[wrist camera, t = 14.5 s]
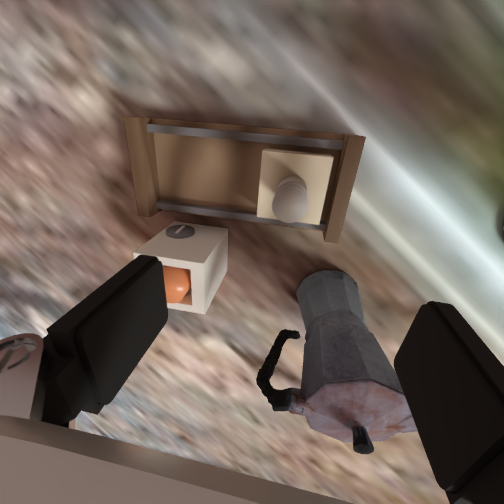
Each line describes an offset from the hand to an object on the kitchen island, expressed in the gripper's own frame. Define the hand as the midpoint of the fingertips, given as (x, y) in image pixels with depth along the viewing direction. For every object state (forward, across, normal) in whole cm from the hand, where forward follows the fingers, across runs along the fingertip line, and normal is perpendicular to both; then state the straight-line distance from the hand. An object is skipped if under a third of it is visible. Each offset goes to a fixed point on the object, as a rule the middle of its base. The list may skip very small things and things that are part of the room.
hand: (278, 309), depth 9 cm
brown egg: (+17, +12, +11) cm, 24 cm away
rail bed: (+24, +6, 0) cm, 25 cm away
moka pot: (+24, -7, +16) cm, 30 cm away
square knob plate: (+22, 0, 0) cm, 22 cm away
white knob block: (+24, +12, +11) cm, 29 cm away
